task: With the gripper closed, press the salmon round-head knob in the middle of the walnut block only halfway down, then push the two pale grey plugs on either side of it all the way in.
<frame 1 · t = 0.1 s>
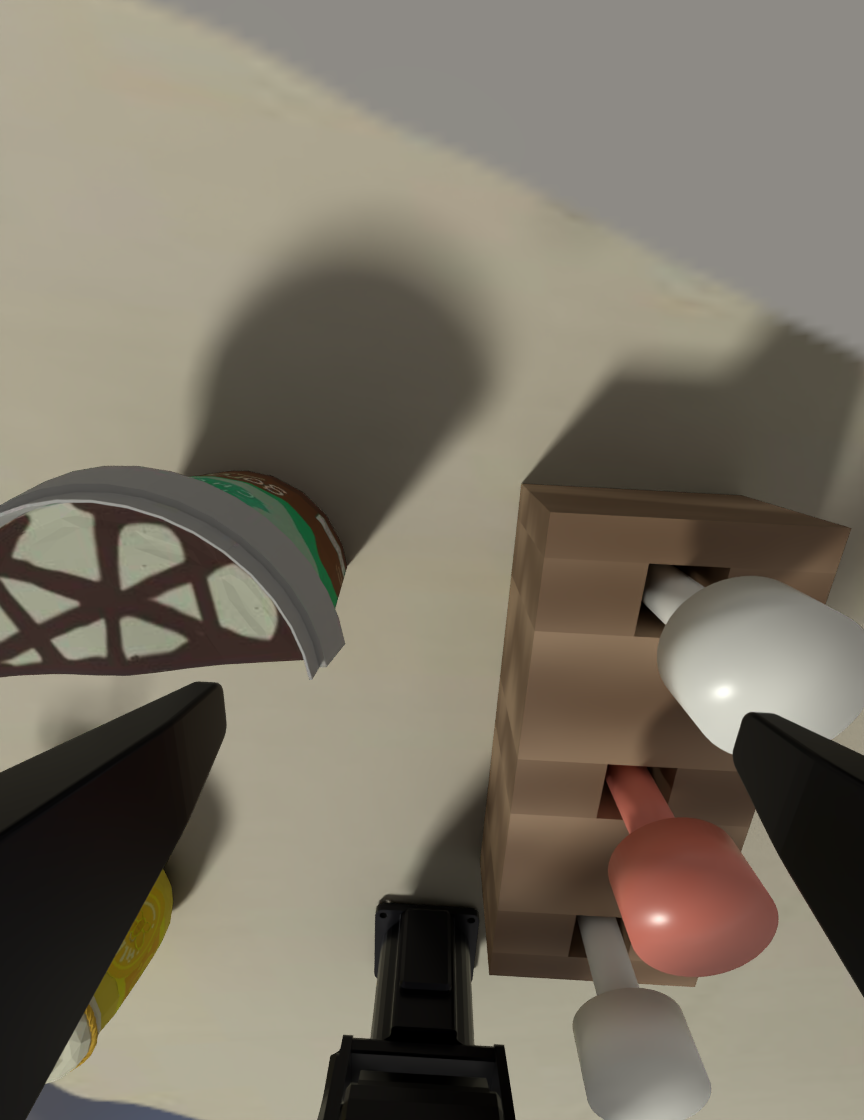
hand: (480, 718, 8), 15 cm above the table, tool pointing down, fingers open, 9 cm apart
food container: (242, 510, 22), on the table
salmon round-head knob: (649, 821, 18), point 7 cm above the table, slide at 0.0 cm
walnut plug block: (591, 704, 25), on the table
mug: (96, 858, 30), on the table
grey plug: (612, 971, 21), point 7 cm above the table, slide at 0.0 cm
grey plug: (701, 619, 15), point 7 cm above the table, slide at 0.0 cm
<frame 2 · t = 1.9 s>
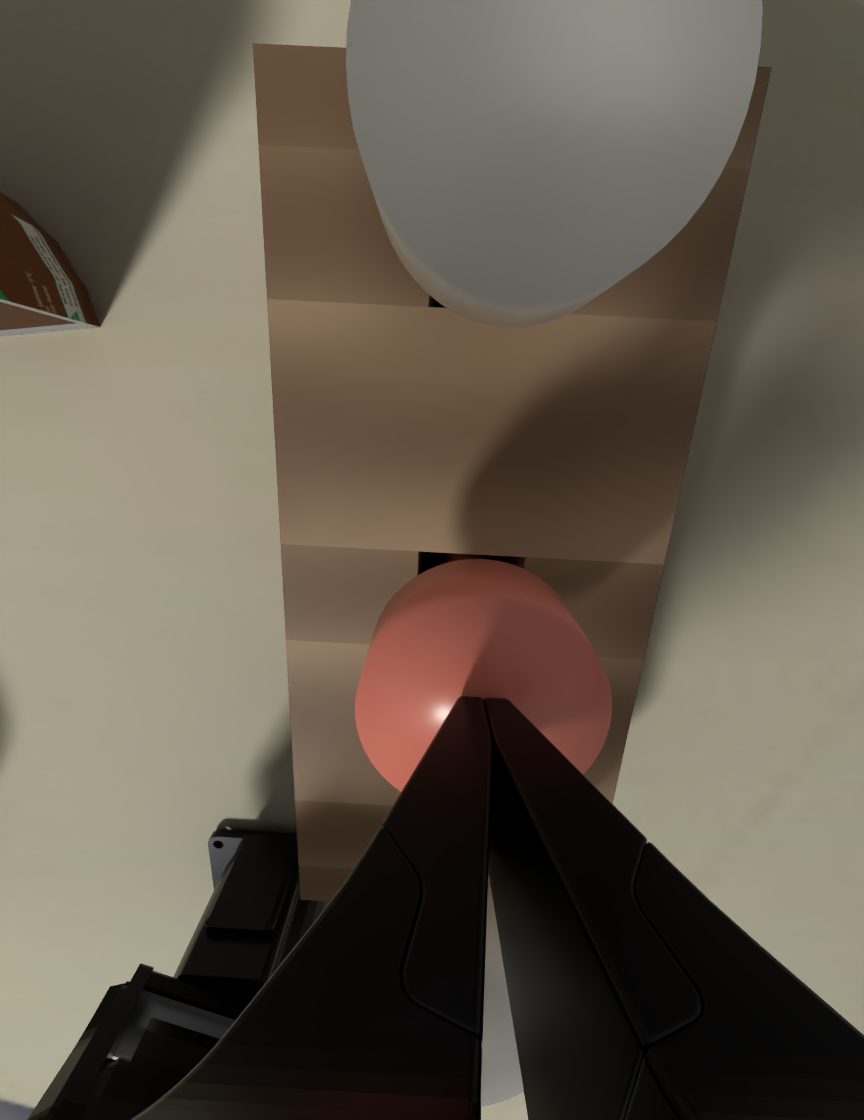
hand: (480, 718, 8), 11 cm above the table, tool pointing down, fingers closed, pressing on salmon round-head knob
salmon round-head knob: (470, 619, 12), point 7 cm above the table, slide at 0.4 cm, touching gripper
walnut plug block: (460, 542, 18), on the table
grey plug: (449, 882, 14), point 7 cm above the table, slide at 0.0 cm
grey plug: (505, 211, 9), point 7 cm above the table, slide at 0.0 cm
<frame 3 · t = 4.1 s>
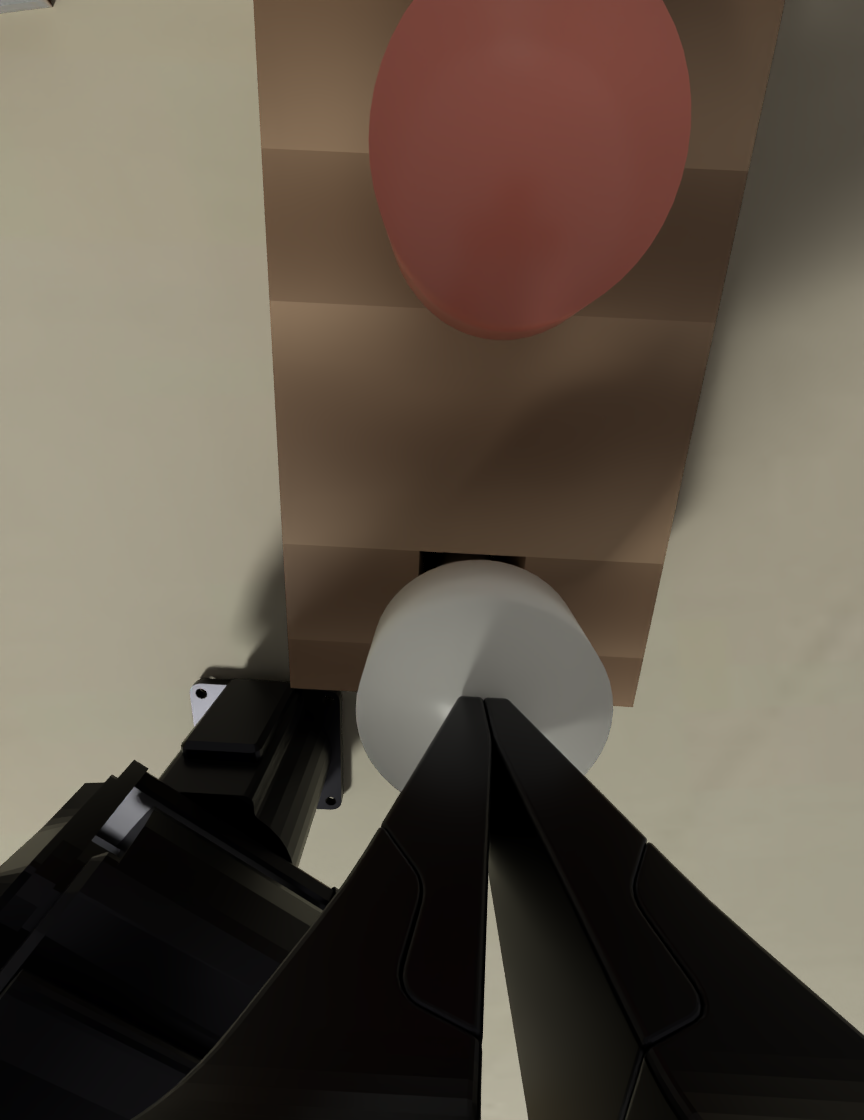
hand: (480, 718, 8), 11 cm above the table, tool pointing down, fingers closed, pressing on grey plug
salmon round-head knob: (497, 239, 10), point 6 cm above the table, slide at 1.4 cm
walnut plug block: (478, 299, 16), on the table
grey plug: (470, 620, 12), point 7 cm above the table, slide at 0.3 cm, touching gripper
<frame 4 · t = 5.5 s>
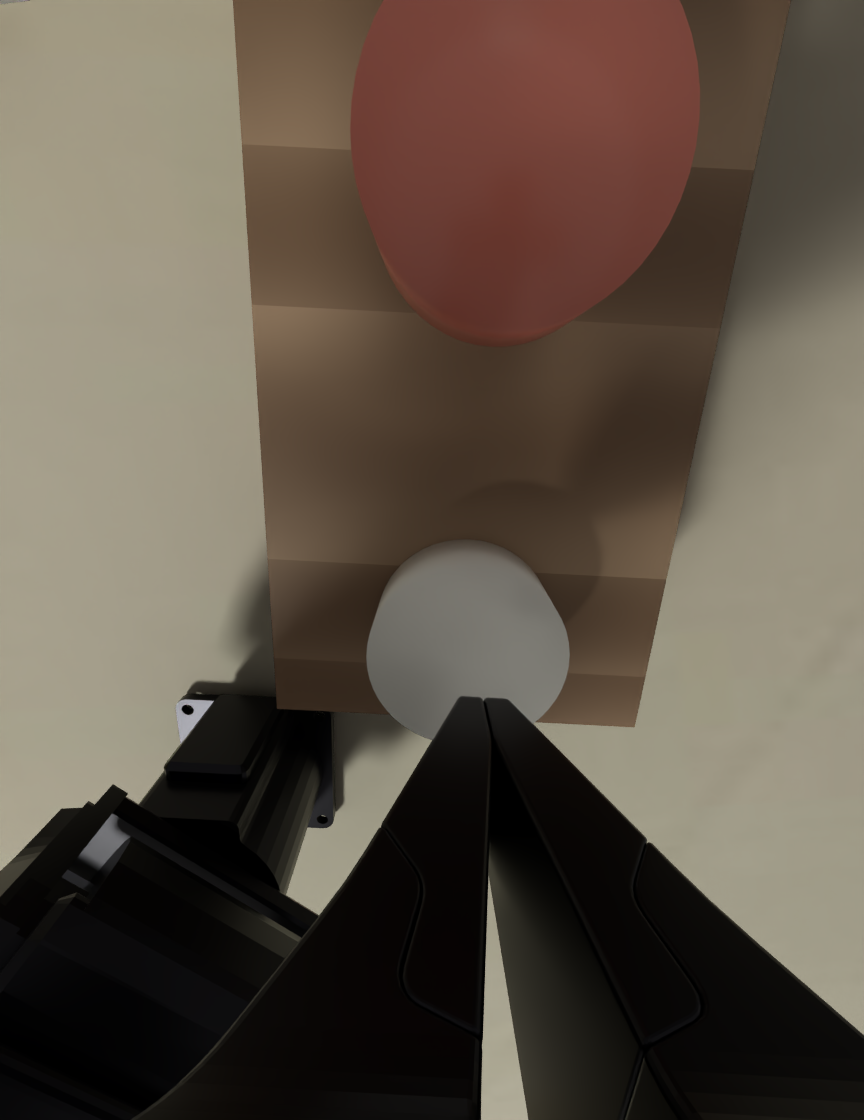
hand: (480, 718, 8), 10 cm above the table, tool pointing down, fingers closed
salmon round-head knob: (491, 241, 10), point 6 cm above the table, slide at 1.4 cm
walnut plug block: (472, 303, 15), on the table
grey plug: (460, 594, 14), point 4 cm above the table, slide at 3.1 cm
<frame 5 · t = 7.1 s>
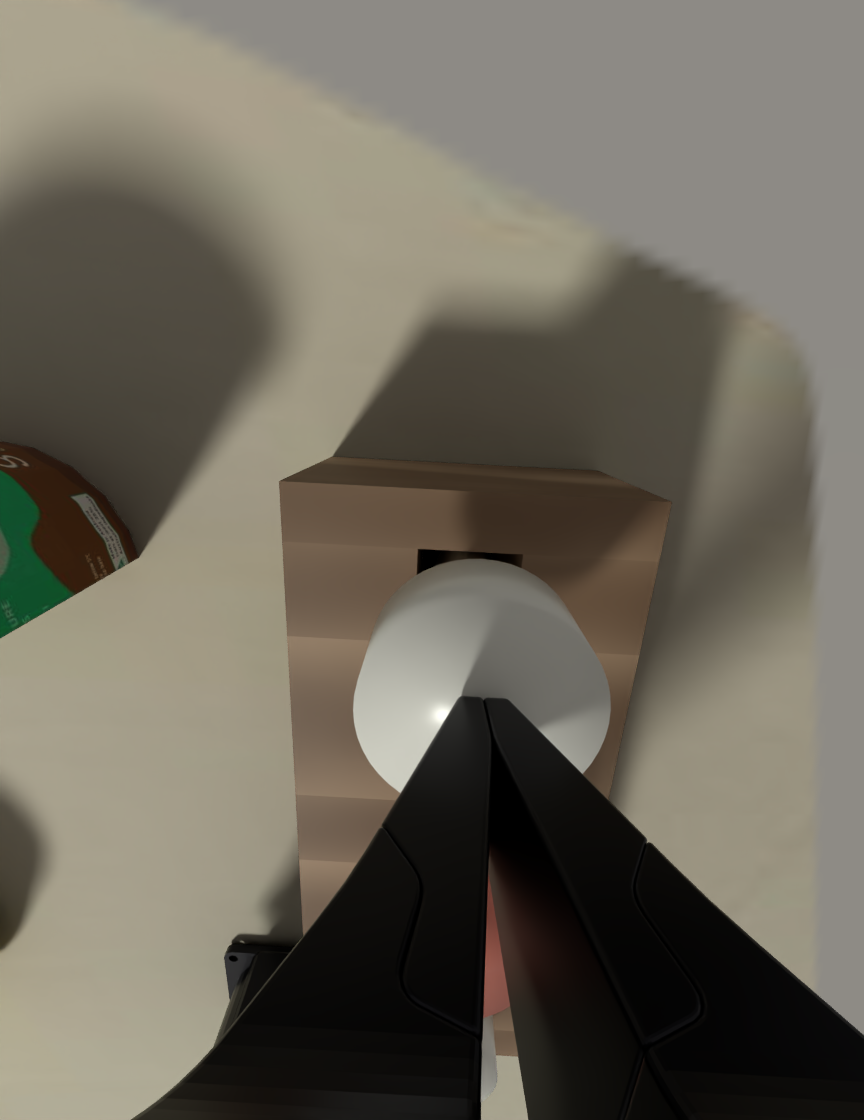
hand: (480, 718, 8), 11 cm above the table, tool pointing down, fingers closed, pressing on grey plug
food container: (6, 490, 19), on the table
salmon round-head knob: (447, 834, 16), point 6 cm above the table, slide at 1.4 cm
walnut plug block: (446, 720, 21), on the table
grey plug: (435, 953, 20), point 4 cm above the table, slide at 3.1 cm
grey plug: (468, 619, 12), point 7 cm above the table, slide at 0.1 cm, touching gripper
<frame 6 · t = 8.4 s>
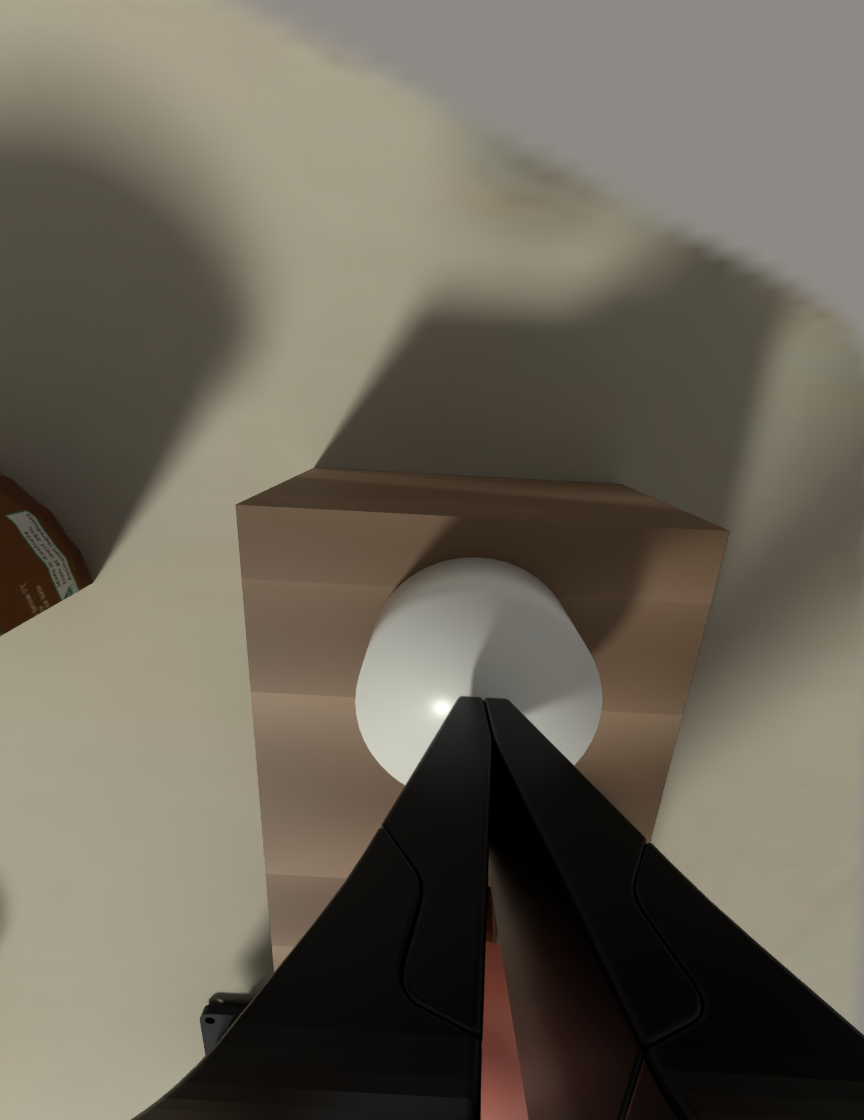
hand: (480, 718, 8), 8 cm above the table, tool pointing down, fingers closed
salmon round-head knob: (447, 918, 13), point 6 cm above the table, slide at 1.4 cm
walnut plug block: (446, 764, 19), on the table
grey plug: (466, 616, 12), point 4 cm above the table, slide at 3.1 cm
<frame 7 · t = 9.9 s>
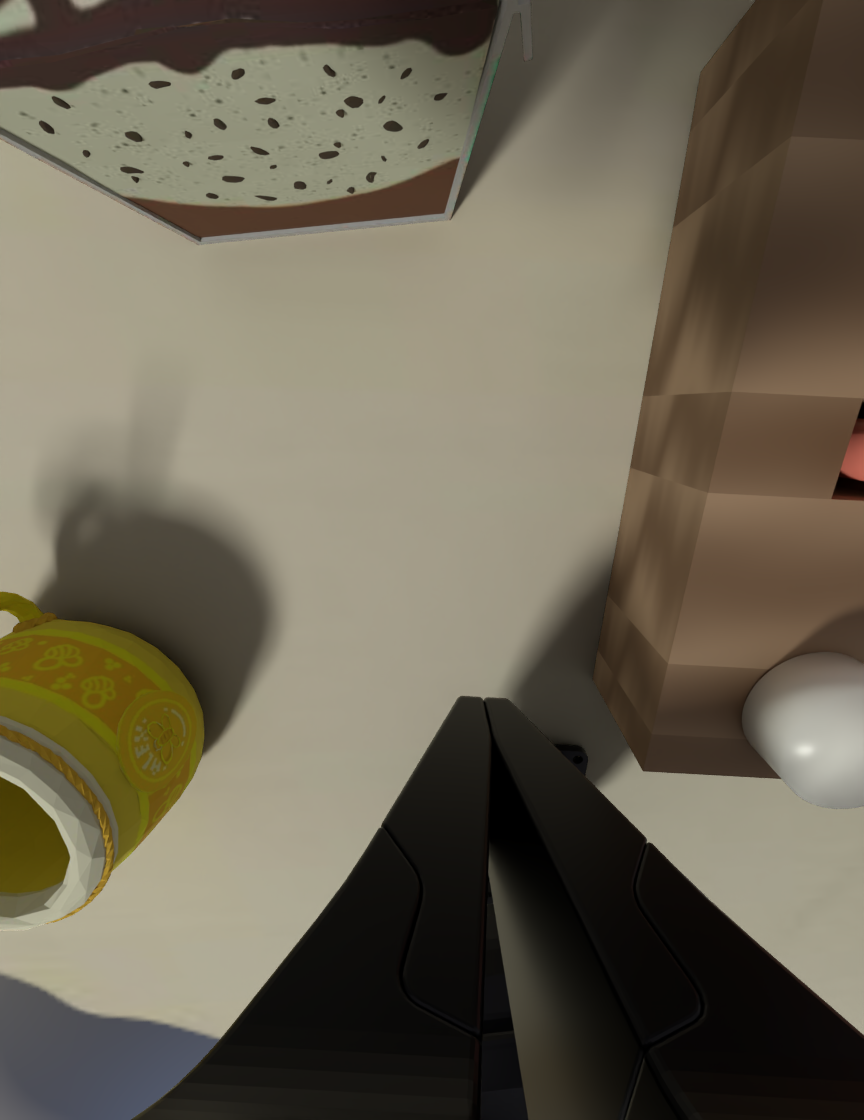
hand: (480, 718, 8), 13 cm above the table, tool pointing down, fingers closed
food container: (311, 132, 16), on the table
walnut plug block: (759, 439, 19), on the table
mug: (108, 684, 24), on the table
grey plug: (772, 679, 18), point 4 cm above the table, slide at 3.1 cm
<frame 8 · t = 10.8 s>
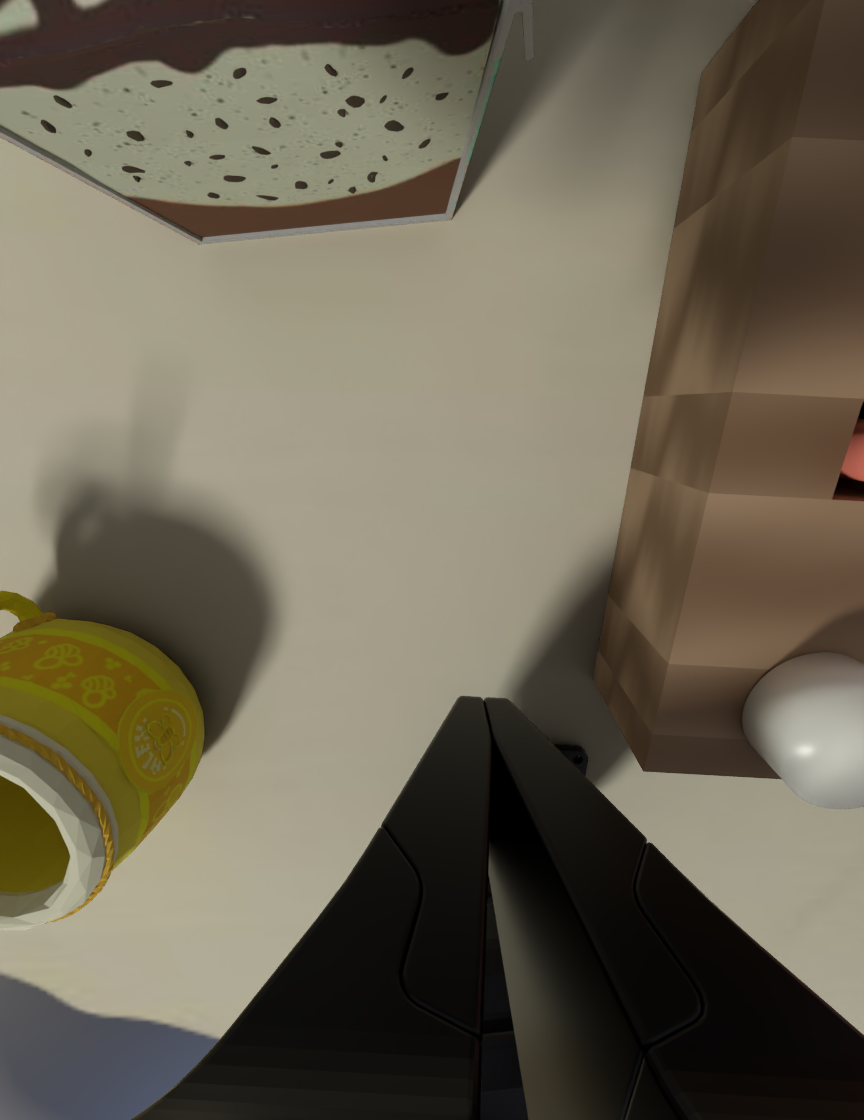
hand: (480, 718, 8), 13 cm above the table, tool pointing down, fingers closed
food container: (312, 132, 16), on the table
walnut plug block: (760, 439, 19), on the table
mug: (108, 684, 24), on the table
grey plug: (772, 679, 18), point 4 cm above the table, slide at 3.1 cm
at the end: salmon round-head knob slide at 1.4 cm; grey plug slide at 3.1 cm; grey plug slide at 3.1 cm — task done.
